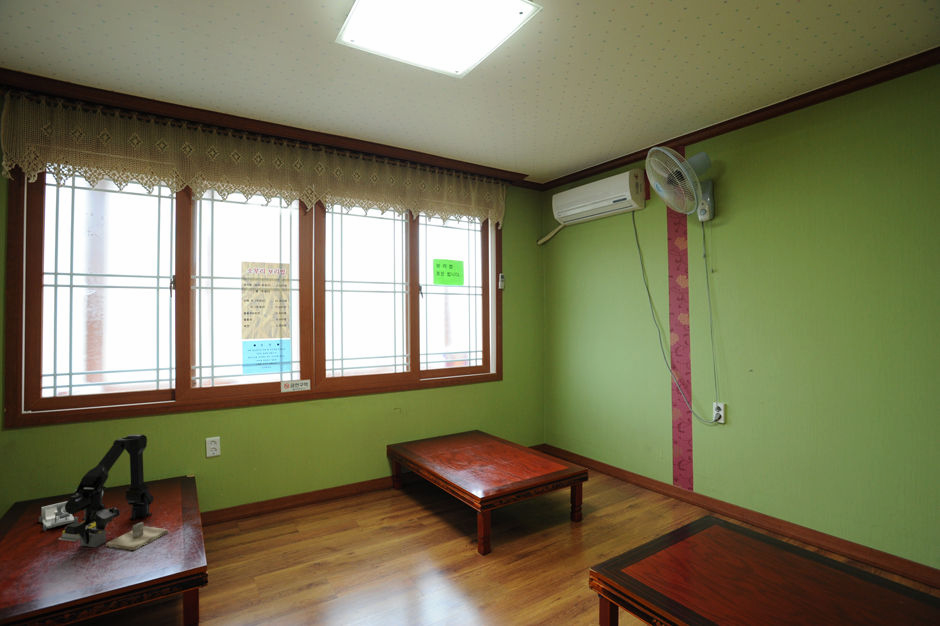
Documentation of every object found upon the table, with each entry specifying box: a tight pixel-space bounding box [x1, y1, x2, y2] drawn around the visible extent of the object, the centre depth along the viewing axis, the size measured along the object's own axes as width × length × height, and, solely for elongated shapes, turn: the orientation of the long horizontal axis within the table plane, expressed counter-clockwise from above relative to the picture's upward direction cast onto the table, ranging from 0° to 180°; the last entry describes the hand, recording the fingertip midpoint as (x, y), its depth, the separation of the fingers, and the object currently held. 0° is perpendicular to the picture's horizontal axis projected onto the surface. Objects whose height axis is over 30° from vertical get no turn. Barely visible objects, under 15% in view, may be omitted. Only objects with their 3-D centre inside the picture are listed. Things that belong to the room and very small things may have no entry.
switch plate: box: [106, 521, 169, 551], centre depth 200 cm, size 16×14×6 cm
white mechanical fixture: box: [38, 500, 79, 532], centre depth 214 cm, size 18×10×12 cm
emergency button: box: [58, 520, 96, 542], centre depth 206 cm, size 9×4×15 cm
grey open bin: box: [79, 528, 107, 548], centre depth 195 cm, size 7×5×5 cm, turn 76°
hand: (93, 541), depth 195 cm, fingers closed on grey open bin, 5 cm apart
